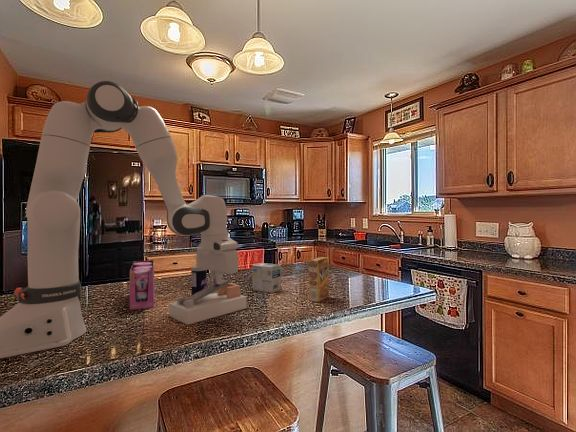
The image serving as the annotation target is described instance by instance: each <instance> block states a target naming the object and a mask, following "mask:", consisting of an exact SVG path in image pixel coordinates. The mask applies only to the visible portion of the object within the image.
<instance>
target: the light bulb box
mask: <svg viewBox="0 0 576 432" xmlns="http://www.w3.org/2000/svg"><path fill="white" fill-rule="evenodd" d="M251 265H252V267H251V268H252V269H251V270H252V271H251V274H252V276H251V277H252V291H259V292H263V293H264V292H266V293H272V294H273V293H276V292H278V291H281V290H282V265H281V264H274V263H264V262H259V263H254V264H251Z"/></svg>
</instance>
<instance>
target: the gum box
mask: <svg viewBox="0 0 576 432" xmlns="http://www.w3.org/2000/svg"><path fill="white" fill-rule="evenodd" d="M130 267H131V268H130V269H129V311H130V310H140V309H141V310H142V309H150V308H154V307H155V295H156V294H155V291H156V290H155V261H154V260H153V259H151V260H150V259H149V260H137V261H136V260H135V261H133V262H132V265H131V266H130Z"/></svg>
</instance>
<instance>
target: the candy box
mask: <svg viewBox="0 0 576 432" xmlns="http://www.w3.org/2000/svg"><path fill="white" fill-rule="evenodd" d="M329 262H330V261H329V257H324V256H318V257H316V258H312V259H308V288H309V289H308V290H309V291H308V292H309V299H308V300H309V302H316V303H319V302H322V301H323V300H325V299H328V298H329V297H330V282H329V281H330V280H329V279H330V277H329V276H330V273H329V270H330V269H329V268H330V266H329ZM327 297H328V298H327Z"/></svg>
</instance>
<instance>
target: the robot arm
mask: <svg viewBox="0 0 576 432" xmlns="http://www.w3.org/2000/svg"><path fill="white" fill-rule="evenodd" d="M121 130H124V131H125V132H126V133H127V134H128V135H129V137H130V138H131V139H132V142H133V145H134V147H135V149H136V150H135V151H136V152H137V154H138V156H139V158H140V161H142V163H143V165H144V166H145V168H146V170H147V171H148V172H149V174H150V175H151V177H152V178H153V180H154V181H155V183H156V185H157V188H158V190H159V193H160V195H161V197H162V199H163V202H164V204H165V208H166V222H167V223H166V224H167V226H168V229H169V230H170V231H171V232H172V233H174V234H176V235H180V236H185V237H188V236H189V237H190V236H193V235H196V234H200V238H201V240H200V242H199V244H198V247H197V249H196V259H195V260H196V262H195V263H196V266H197V267H198V268H202V269H206V270H208V271H209V275H210V277H211V279H212V281H211V282H212V284H218V285H219V284H221V283H222V279H223V276H224V274H227V275H231V274H236V273H237V272H238V271H239V255H238V254H239V253H238V251H237V249H238V247H239V246H238V244H239V243H238V242H237V241H236V240H234V239H232V238H231V237H229V232H228V229H227V224H228V212H227V206H226V202H225V200H224V199H223V198H222V197H221V196H219V195H215V194H202V195H201V196H200V197H199V198H197V199H195V200H194V201H192V202H190V203H187V202H186V201H185V199H184V196H183V194H182V193H183V192H182V191H181V188H180V185H179V182H178V180H177V174H176V173H177V163H178V155H177V150H176V146H175V142H174V140H173V138H172V135H171V133H170V131H169V129H168V127H167V125H166V123H165V121H164V119H163V118H162V116H161V115H160V113H159V112H158V110H156V108H154V107H152V106H147V105H141V106H139V103H138V101H137V100H136V99H135V98H133V97H132V96H131V95H130V94H129V93H128V92H127V91H126V90H125V89H124V88H123V87H122V86H121V85H119V84H118V83H116V82H113V81H111V80H104V81H98V82H96V83H94V84H93V85H92V86H91V87H90V88H89V89H88V91H87V94H86V100H85V101H83V102H81V103H79V102H73V101H68V100H63V101H58V102H55V103H54V104H53V105H52V107H51V108H50V110H49V112H48V115H47V117H46V119H45V122H44V126H43V129H42V133H41V137H40V142H39V146H38V147H39V148H38V150H37V151H38V152H37V157H36V163H35V166H34V167H35V168H34V171H33V176H32V181H31V185H30V188H29V189H30V190H29V193H28V199H27V203H26V207H25V216H26V218H27V219H26V220H27V228H26V229H27V284H28V285H27V286H26V287H24V288H23V287H16V288H15V290H13V294H14V295H15V296H16V297H17V300H18V303H17V304H16V305H14V306H13V307H11V308H9V310H8V311H6V312H5V313H4V314H2V315H1V316H0V359H5V358H10V357H14V356H20V355H25V354H29V353H35V352H38V351H43V350H45V351H46V350H49V349H54V348H60V347H65V346H67V345H68V344H71V342H72V341H73V340H76V339H77V338H79V337H81V336H83V335H84V334H85V333H86V332H87V327H86V324H85V322H84V318H83V313H82V309H81V301H82V285H81V281H80V279H79V275H80V273H79V246H80V237H81V236H80V231H81V207H80V204H79V202H78V198H79V195H80V190H81V188H82V184H83V181H84V178H85V175H86V171H87V164H88V160H89V159H88V158H89V153H90V148H91V143H92V138H93V135H94V133H104V134H105V133H115V132H116V133H117V132H118V131H121Z"/></svg>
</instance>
